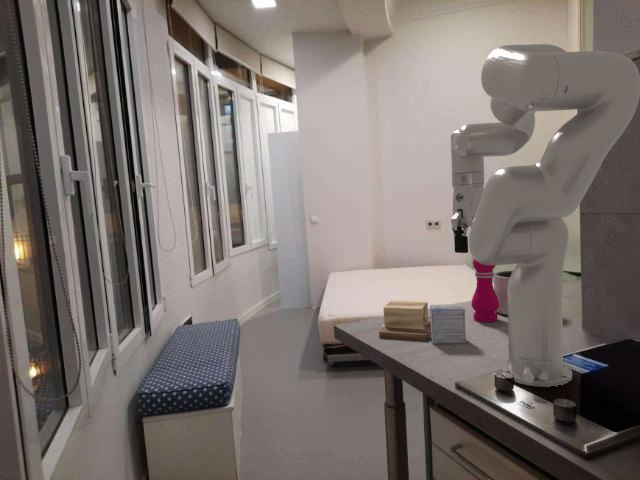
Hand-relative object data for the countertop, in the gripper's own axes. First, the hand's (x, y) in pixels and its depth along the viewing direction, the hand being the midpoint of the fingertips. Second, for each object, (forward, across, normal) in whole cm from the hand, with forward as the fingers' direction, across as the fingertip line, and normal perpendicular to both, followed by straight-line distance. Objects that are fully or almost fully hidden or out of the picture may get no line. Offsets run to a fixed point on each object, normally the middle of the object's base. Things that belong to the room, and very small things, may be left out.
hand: (470, 250), depth 118 cm
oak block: (+20, -4, +16) cm, 26 cm away
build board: (+21, -5, +15) cm, 27 cm away
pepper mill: (+21, +14, +2) cm, 26 cm away
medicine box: (+22, -8, +3) cm, 23 cm away
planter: (+21, +26, -2) cm, 34 cm away
